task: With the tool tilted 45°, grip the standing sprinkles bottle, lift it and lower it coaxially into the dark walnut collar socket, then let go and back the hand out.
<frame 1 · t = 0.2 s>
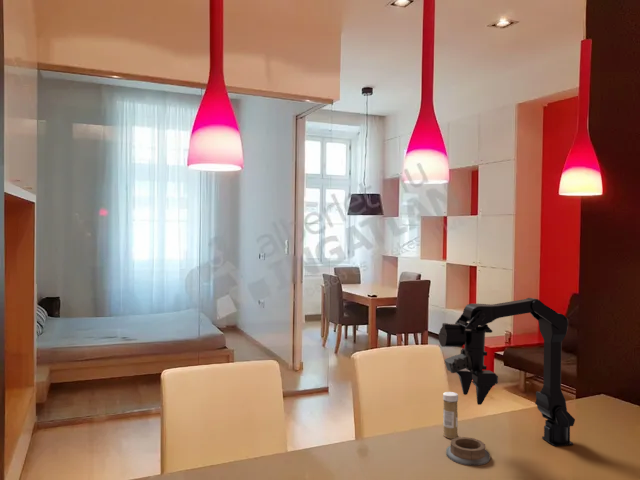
hand: (472, 399, 151), 14 cm above the table, tool pointing down, fingers open, 9 cm apart
sprinkles bottle: (450, 436, 160), on the table
collar socket: (467, 455, 146), on the table
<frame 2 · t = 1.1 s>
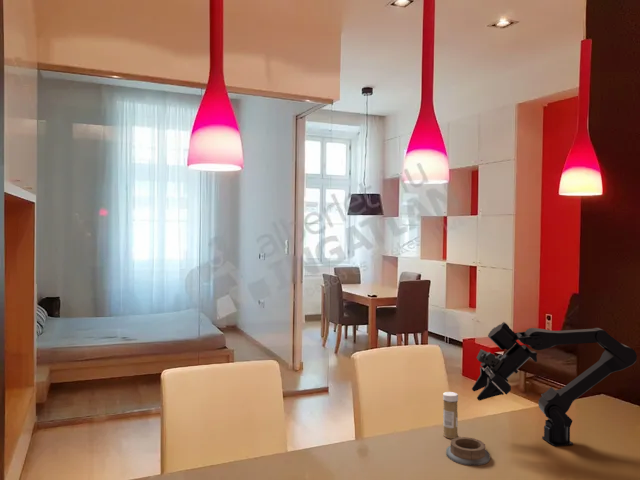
hand: (475, 394, 159), 13 cm above the table, tool tilted 45°, fingers open, 9 cm apart
nothing on the table moved.
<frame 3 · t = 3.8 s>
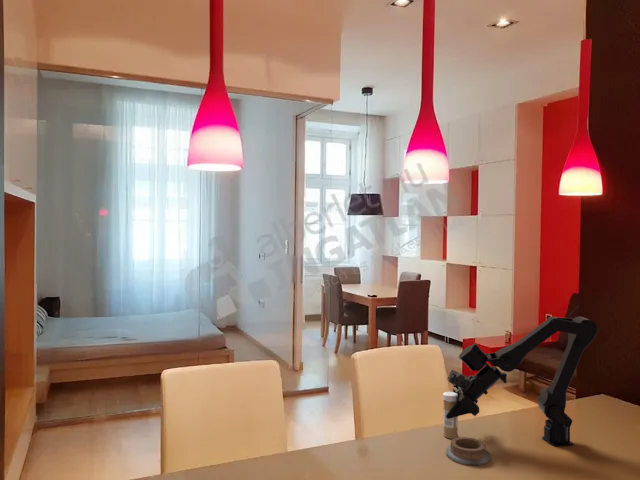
hand: (445, 415, 160), 7 cm above the table, tool tilted 45°, fingers closed on sprinkles bottle, 4 cm apart
sprinkles bottle: (450, 436, 160), on the table, touching gripper
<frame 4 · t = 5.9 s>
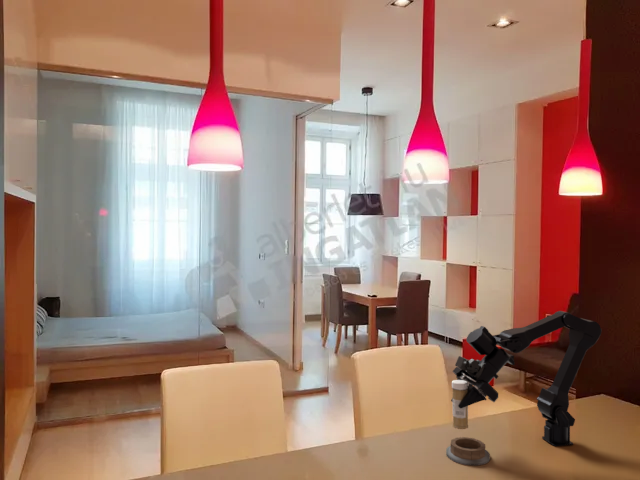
hand: (455, 404, 150), 13 cm above the table, tool tilted 45°, fingers closed on sprinkles bottle, 4 cm apart
sprinkles bottle: (460, 427, 150), point 6 cm above the table, touching gripper
when the fingers open (8 cm above the table, at t = 8.2 s): sprinkles bottle stays where it is, resting on collar socket.
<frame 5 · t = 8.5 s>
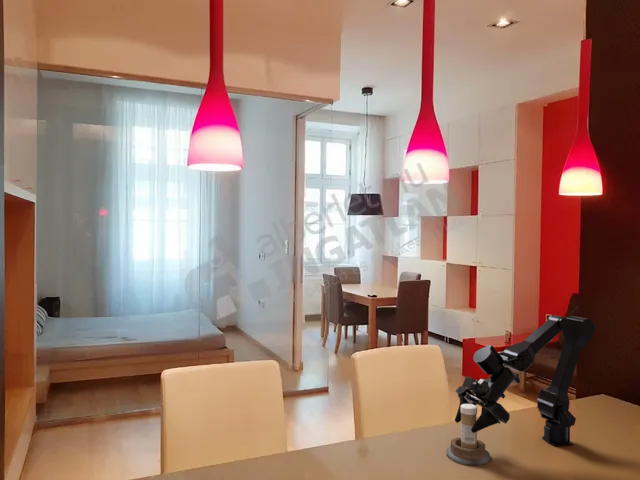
hand: (463, 426, 145), 9 cm above the table, tool tilted 45°, fingers open, 8 cm apart
sprinkles bottle: (468, 453, 146), point 1 cm above the table, touching collar socket
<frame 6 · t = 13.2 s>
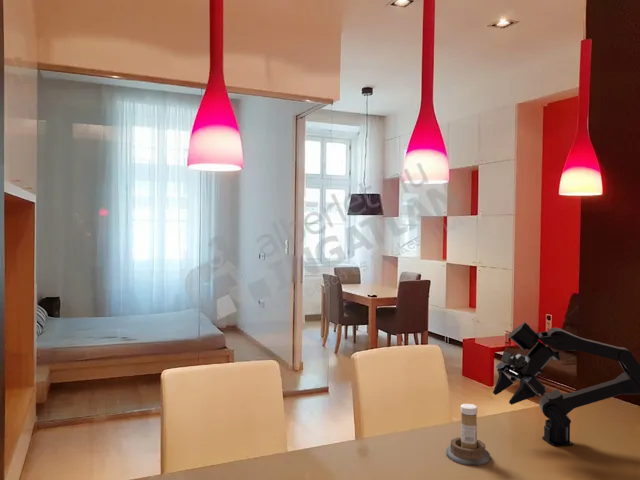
hand: (501, 398, 155), 14 cm above the table, tool tilted 45°, fingers open, 9 cm apart
nothing on the table moved.
at the end: sprinkles bottle 0.3 cm off-centre on the collar socket, point 0.8 cm above the collar socket's base; sprinkles bottle tilted 0°; the gripper is holding nothing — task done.
